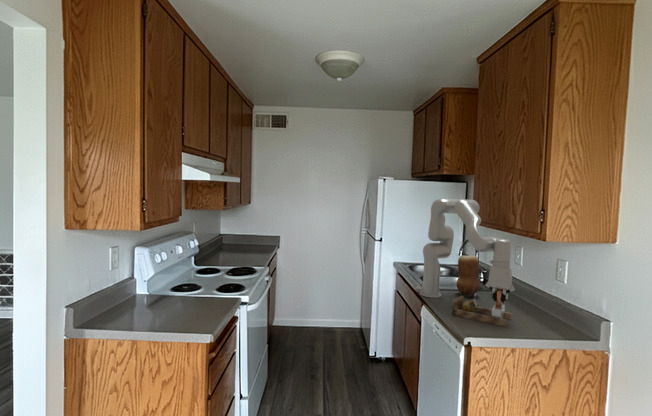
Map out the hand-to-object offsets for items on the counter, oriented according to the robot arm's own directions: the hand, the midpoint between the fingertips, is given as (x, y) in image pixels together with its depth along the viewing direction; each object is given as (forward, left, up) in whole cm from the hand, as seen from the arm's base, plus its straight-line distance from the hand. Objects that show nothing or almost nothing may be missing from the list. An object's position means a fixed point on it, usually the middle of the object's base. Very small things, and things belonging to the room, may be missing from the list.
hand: (498, 301), depth 185 cm
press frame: (-8, 0, -10) cm, 12 cm away
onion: (-14, 0, -10) cm, 17 cm away
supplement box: (-8, +48, -10) cm, 50 cm away
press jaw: (0, 0, -9) cm, 9 cm away
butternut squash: (-24, +36, -10) cm, 44 cm away
